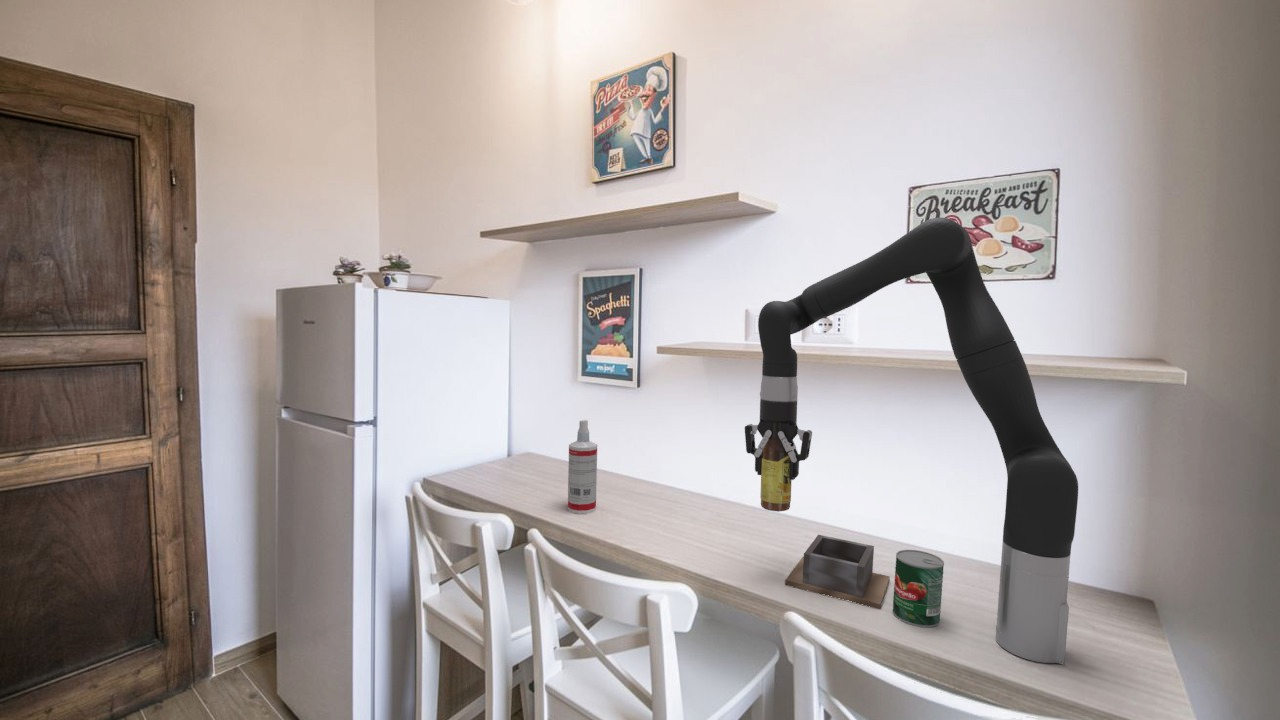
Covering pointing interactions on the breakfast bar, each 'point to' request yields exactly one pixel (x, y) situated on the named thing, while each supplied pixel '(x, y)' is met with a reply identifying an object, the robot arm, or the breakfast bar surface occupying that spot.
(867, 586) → the bottle holder
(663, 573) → the breakfast bar surface
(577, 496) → the spray bottle
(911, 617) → the canned tomato
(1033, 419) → the robot arm
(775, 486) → the sauce bottle
